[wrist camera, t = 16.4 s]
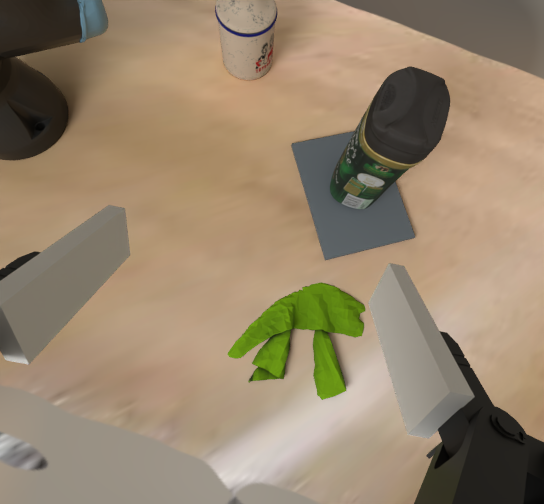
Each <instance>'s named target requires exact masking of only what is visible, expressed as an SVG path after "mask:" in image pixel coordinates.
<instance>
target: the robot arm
mask: <svg viewBox="0 0 544 504" xmlns="http://www.w3.org/2000/svg"><path fill="white" fill-rule="evenodd" d="M107 28H108V17H107V14H106V11H105V8H104V5H103V3H102V0H0V159H2V160H20V159H26V158H29V157H32V156H35V155H37V154H39V153H41V152H43V151H45V150H46V149H48V148H49V147H50V146H52V145H53V144H54V143H55V142H56V141H57V140H58V138H59V137H60V136H61V134H62V133H63V131H64V129H65V127H66V124H67V119H68V107H67V103H66V100H65V98H64V96H63V94H62V93H61V92H60V91H59V89H58V88H57V87H56V86H55V85H54V84H53V83H52V82H51V81H50V80H49V79H48V78H47V77H46V76H45V75H43V74H42V73H40V72H39V71H37V70H35V69H33V68H31V67H30V66H28V65H27V64H25V63H24V62H22V61H21V60H19V59H18V58H16V57H17V56H21V55H25V54H30V53H34V52H39V51H43V50H47V49H52V48H56V47H61V46H65V45H70V44H74V43H78V42H80V43H82V42H85V41H86V39H89V38H92V37H95V36H98V35H101V34H103V33H104V32H105V31H106V30H107ZM129 256H130V249H129V240H128V231H127V222H126V213H125V208H121V207H116V206H111V205H108V206H107V207H105V208H104V209H103V210H101V211H100V212H98V213H97V214H95V215H94V216H92V217H91V218H90V219H88V220H87V221H85V222H84V223H82V224H81V225H80V226H78V227H77V228H75V229H74V230H72V231H71V232H70V233H68V234H67V235H65V236H64V237H62V238H61V239H60V240H58V241H57V242H55V243H54V244H52V245H51V246H50V247H48V248H47V249H45V250H44V251H42V252H41V253H40V252H32V253H30V254H27V255H25V256H22V257H19V258H17V259H16V260H14V261H13V262H11V263H10V264H8V265H7V266H6V268H2V269H1V270H0V351H1V352H2V354H3V356H4V358H5V360H8V361H13V362H18V363H24V364H30V363H31V362H32V361H33V360H34V359H35V357H36V356H37V355H38V354H39V353H40V352H41V351H42V350H43V349H44V348H45V347H46V346H47V345H48V343H49V342H50V341H51V340H52V339H53V338H54V337H55V336H56V335H57V334H58V333H59V332H60V330H61V329H62V328H63V327H64V326H65V325H66V324H67V323H68V322H69V321H70V320H71V319H72V317H73V316H74V315H75V314H76V313H77V312H78V311H79V310H80V309H81V308H82V307H83V306H84V304H85V303H86V302H87V301H88V300H89V299H90V298H91V297H92V296H93V295H94V294H95V293H96V291H97V290H98V289H99V288H100V287H101V286H102V285H103V284H104V283H105V282H106V281H107V280H108V278H109V277H110V276H111V275H112V274H113V273H114V272H115V271H116V270H117V269H118V268H119V267H120V265H121V264H122V263H123V262H124V261H125V260H126V259H127V258H128V257H129ZM368 304H369V307H370V310H371V314H372V317H373V320H374V324H375V327H376V330H377V334H378V337H379V340H380V344H381V347H382V350H383V354H384V357H385V360H386V364H387V367H388V370H389V374H390V377H391V380H392V384H393V387H394V390H395V394H396V397H397V400H398V404H399V407H400V410H401V414H402V417H403V420H404V424H405V427H406V430H407V434H408V435H413V436H418V437H423V438H430V437H431V436H432V435H433V434H434V433H435V432H436V431H438V432H439V434H440V437H441V439H442V442H441V443H440V444H438V445H437V446H436V447H435V448H434V449H433V450H431V451H430V452H429V453H428V454H427V457H428V458H431V457H432V456H433V455H434V456H433V458H432V461H431V463H430V466H429V468H428V471H427V473H426V476H425V478H424V481H423V483H422V485H421V488H420V490H419V493H418V495H417V498H416V500H415V503H414V504H544V442H542V441H540V440H537V439H535V438H533V437H531V436H529V435H527V434H526V433H525V431H524V429H523V428H522V427H521V426H520V424H519V423H518V422H517V421H516V420H515V419H514V418H513V417H512V416H510V415H509V414H508V413H507V412H505V411H503V410H502V409H500V408H498V407H495V406H494V405H493V404H492V402H491V400H490V399H489V397H488V395H487V393H486V392H485V390H484V388H483V387H482V385H481V383H480V381H479V380H478V378H477V376H476V375H475V373H474V371H473V369H472V368H470V364H469V363H468V361H467V359H466V358H464V354H463V352H462V351H461V349H460V347H459V345H458V344H457V343H456V342H455V341H454V340H453V339H452V338H451V337H450V336H449V334H448V333H445V332H440V331H439V330H438V328H437V326H436V324H435V322H434V320H433V319H432V317H431V315H430V313H429V311H428V309H427V308H426V306H425V304H424V302H423V300H422V298H421V296H420V295H419V293H418V291H417V289H416V287H415V285H414V284H413V282H412V280H411V278H410V276H409V274H408V273H407V271H406V269H405V267H404V266H401V265H396V264H391V263H389V264H388V266H387V268H386V270H385V272H384V274H383V276H382V278H381V279H380V281H379V283H378V285H377V287H376V289H375V291H374V293H373V295H372V297H371V299H370V300H369V302H368Z"/></svg>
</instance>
